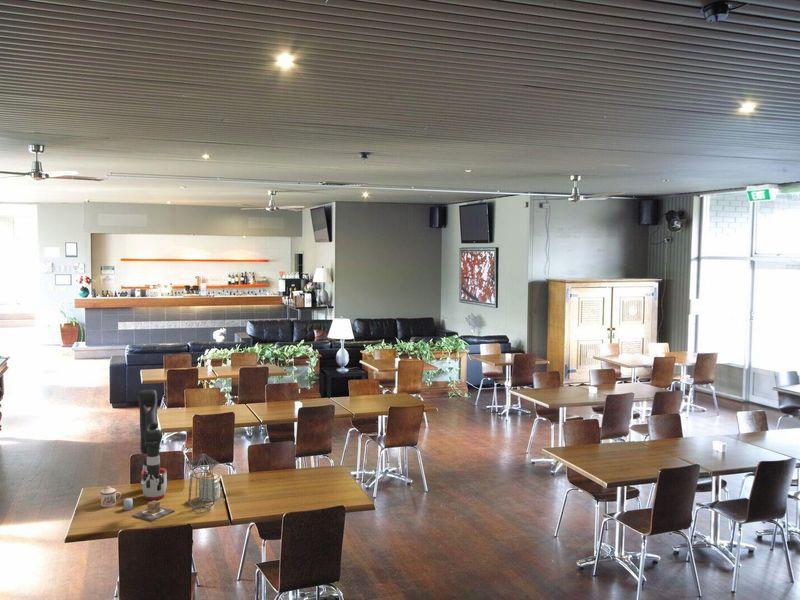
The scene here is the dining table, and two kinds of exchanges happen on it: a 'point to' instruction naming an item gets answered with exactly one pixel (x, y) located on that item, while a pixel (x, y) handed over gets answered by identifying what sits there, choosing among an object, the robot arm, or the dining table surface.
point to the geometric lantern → (201, 478)
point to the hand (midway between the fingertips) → (153, 489)
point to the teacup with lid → (109, 497)
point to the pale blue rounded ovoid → (128, 504)
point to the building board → (153, 517)
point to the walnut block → (153, 507)
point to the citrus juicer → (154, 486)
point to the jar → (209, 486)
